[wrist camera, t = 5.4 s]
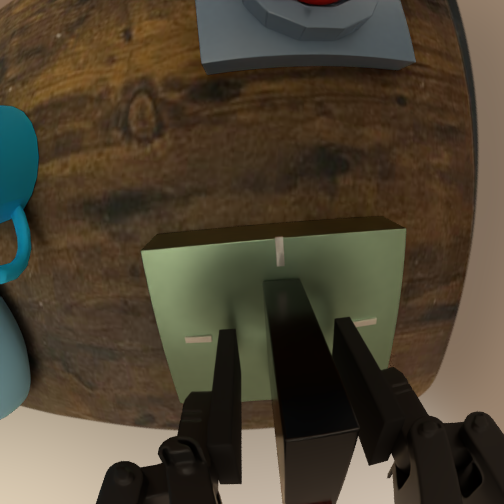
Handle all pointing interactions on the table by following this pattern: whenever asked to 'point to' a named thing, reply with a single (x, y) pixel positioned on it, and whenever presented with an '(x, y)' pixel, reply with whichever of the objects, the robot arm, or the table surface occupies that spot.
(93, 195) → the table surface
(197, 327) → the dial panel
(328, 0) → the button
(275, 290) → the black slab
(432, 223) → the table surface
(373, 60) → the button housing
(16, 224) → the mug
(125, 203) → the table surface
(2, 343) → the sugar bowl
